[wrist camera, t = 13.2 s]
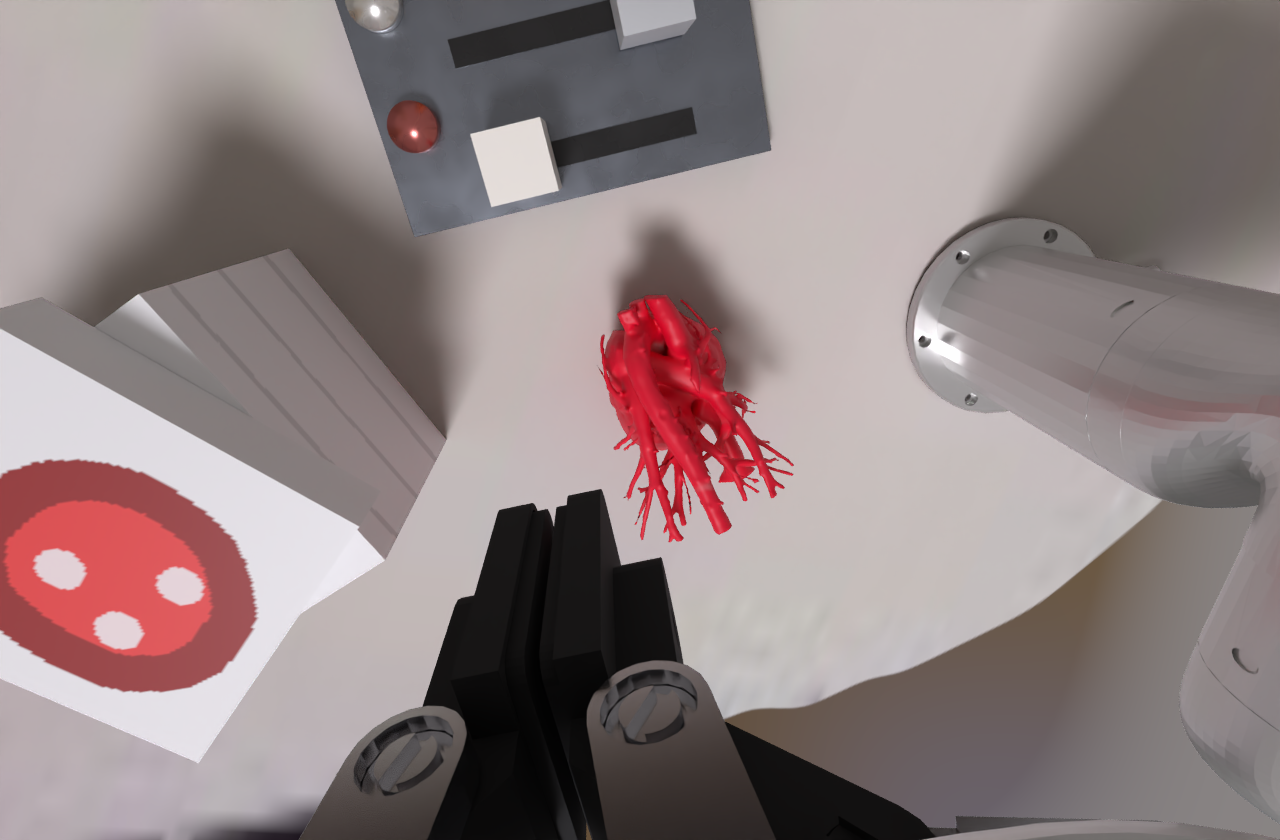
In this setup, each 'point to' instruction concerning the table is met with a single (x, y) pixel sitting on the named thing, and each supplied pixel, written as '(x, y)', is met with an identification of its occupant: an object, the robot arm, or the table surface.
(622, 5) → the grey slider
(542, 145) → the ivory slider
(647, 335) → the heart organ
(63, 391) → the pizza boxes
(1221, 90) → the table surface
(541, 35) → the panel
